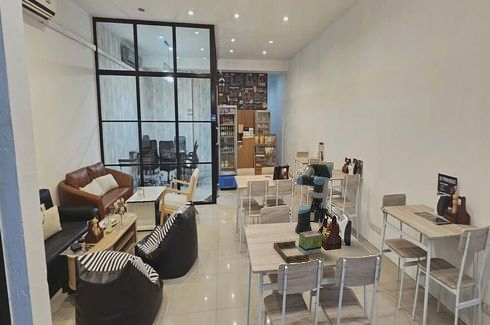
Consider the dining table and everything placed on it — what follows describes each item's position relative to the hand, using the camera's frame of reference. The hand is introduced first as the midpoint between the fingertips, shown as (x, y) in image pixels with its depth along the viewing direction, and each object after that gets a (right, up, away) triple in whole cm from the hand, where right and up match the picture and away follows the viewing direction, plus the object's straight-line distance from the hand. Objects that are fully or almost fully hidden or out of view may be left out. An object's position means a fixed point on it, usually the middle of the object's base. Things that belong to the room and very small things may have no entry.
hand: (316, 223), depth 226 cm
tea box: (-5, -22, 0) cm, 23 cm away
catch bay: (-21, -22, -5) cm, 31 cm away
